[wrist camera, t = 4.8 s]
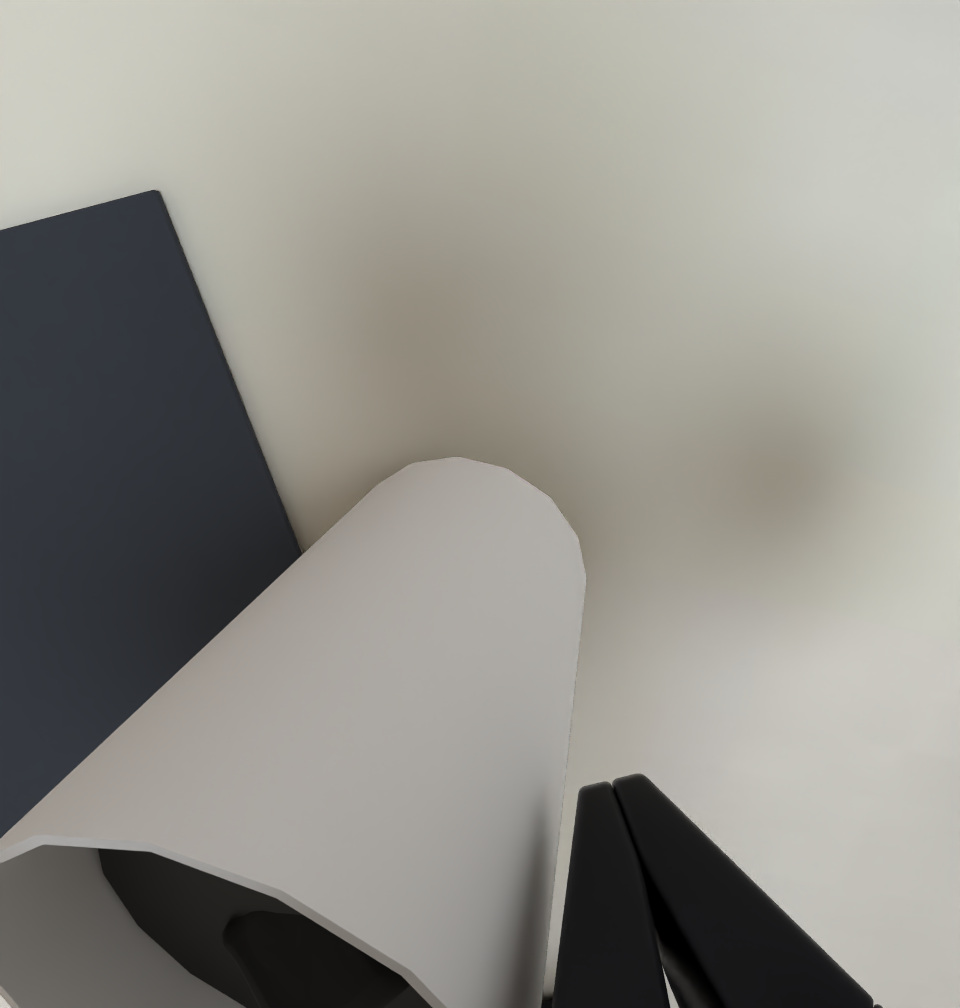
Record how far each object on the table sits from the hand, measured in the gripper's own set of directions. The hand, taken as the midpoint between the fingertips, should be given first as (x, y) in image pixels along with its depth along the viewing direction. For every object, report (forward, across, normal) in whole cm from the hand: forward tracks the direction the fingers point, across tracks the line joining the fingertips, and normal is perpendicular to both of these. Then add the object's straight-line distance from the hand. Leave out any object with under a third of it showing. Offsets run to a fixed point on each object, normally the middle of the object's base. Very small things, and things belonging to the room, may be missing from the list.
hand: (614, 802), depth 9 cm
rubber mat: (+9, +11, +1) cm, 14 cm away
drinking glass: (+8, +2, 0) cm, 8 cm away
